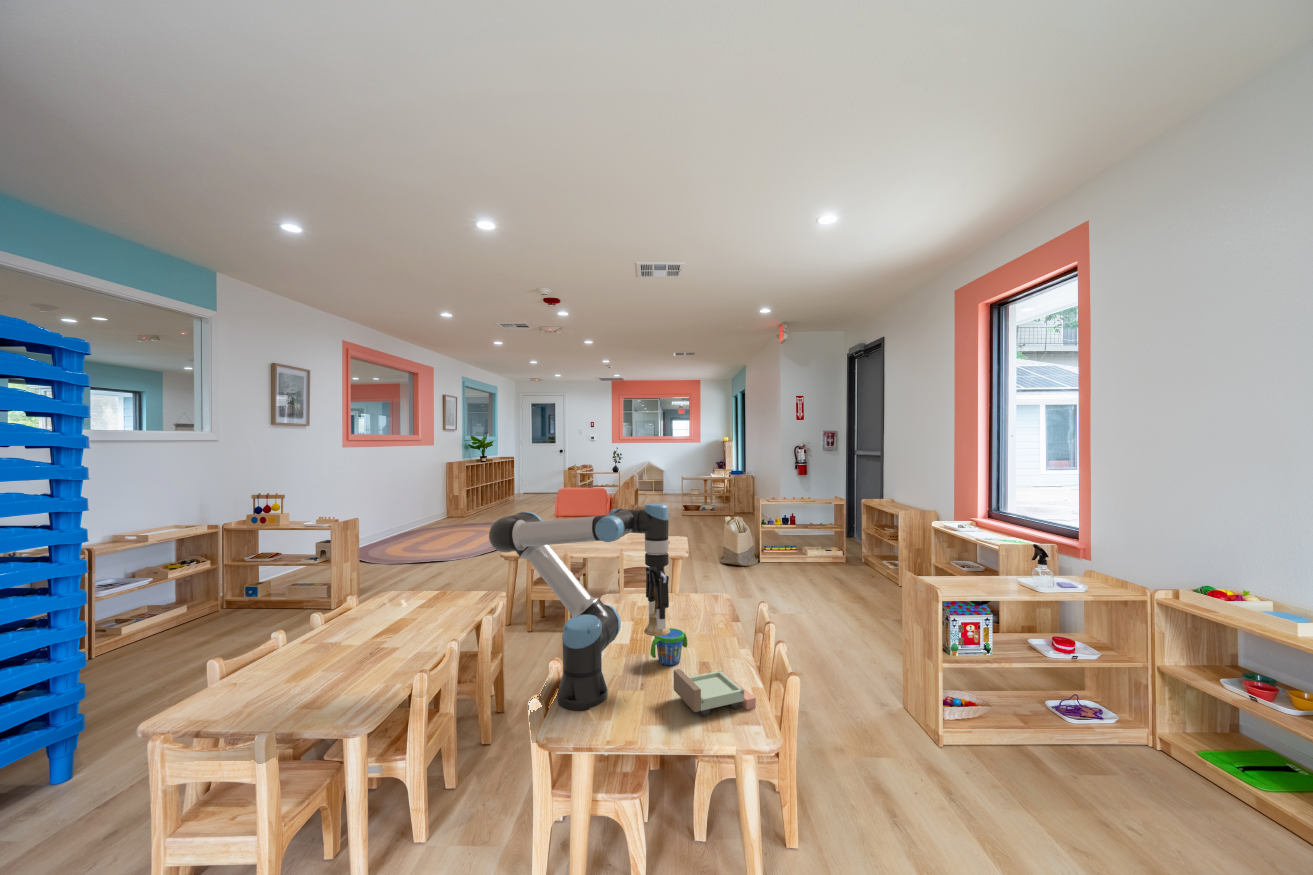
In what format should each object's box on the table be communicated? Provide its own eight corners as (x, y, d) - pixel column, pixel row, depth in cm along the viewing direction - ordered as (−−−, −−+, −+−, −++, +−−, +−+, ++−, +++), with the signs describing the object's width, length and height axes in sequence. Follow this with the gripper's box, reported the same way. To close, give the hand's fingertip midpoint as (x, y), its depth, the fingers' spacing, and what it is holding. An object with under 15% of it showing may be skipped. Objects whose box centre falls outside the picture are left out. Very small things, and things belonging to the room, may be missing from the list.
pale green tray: (694, 720, 143) (694, 690, 143) (673, 697, 156) (673, 669, 156) (744, 709, 149) (744, 679, 149) (720, 687, 162) (720, 660, 162)
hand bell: (655, 625, 170) (655, 576, 171) (675, 630, 165) (675, 581, 165) (638, 632, 164) (638, 582, 164) (659, 638, 159) (658, 586, 159)
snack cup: (678, 651, 191) (678, 624, 191) (696, 661, 183) (695, 632, 183) (642, 661, 183) (642, 632, 183) (659, 672, 174) (659, 642, 174)
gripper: (679, 557, 158) (680, 633, 157) (656, 545, 175) (656, 614, 175) (657, 559, 155) (657, 637, 154) (635, 547, 172) (635, 617, 172)
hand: (657, 624), depth 165 cm, fingers closed on hand bell, 6 cm apart
